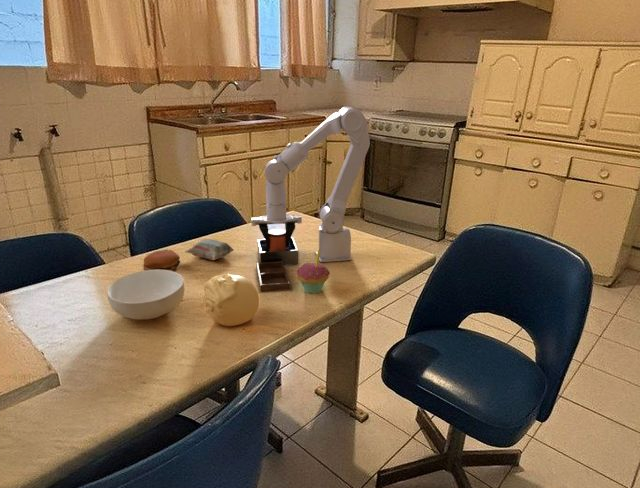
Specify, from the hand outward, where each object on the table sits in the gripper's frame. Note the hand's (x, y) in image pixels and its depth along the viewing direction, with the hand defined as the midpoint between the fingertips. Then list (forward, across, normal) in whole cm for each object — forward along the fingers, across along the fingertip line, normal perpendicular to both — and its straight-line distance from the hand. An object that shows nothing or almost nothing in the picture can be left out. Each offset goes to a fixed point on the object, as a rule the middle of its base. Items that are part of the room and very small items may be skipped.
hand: (277, 246), depth 136 cm
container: (+2, 0, 0) cm, 2 cm away
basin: (+4, 0, 0) cm, 4 cm away
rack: (+4, -3, -14) cm, 15 cm away
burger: (+4, -33, -2) cm, 33 cm away
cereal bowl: (+4, -33, -26) cm, 43 cm away
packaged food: (+4, -20, +4) cm, 21 cm away
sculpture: (+4, -14, -34) cm, 37 cm away
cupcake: (+4, +7, -22) cm, 24 cm away
